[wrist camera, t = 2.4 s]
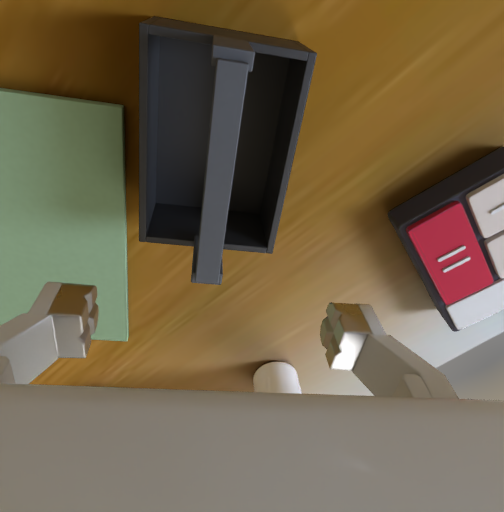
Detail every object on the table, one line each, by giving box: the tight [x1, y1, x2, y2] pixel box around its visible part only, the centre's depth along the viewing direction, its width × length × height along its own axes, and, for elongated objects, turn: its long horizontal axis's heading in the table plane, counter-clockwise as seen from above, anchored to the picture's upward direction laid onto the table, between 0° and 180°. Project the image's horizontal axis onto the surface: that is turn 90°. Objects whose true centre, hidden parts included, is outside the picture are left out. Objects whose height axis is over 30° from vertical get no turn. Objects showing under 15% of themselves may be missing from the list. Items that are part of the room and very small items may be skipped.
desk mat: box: [0, 88, 129, 341], centre depth 34 cm, size 24×18×1 cm
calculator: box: [388, 147, 504, 331], centre depth 37 cm, size 11×4×15 cm
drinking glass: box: [253, 362, 302, 394], centre depth 41 cm, size 7×7×15 cm
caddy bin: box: [139, 16, 317, 285], centre depth 26 cm, size 14×10×11 cm
